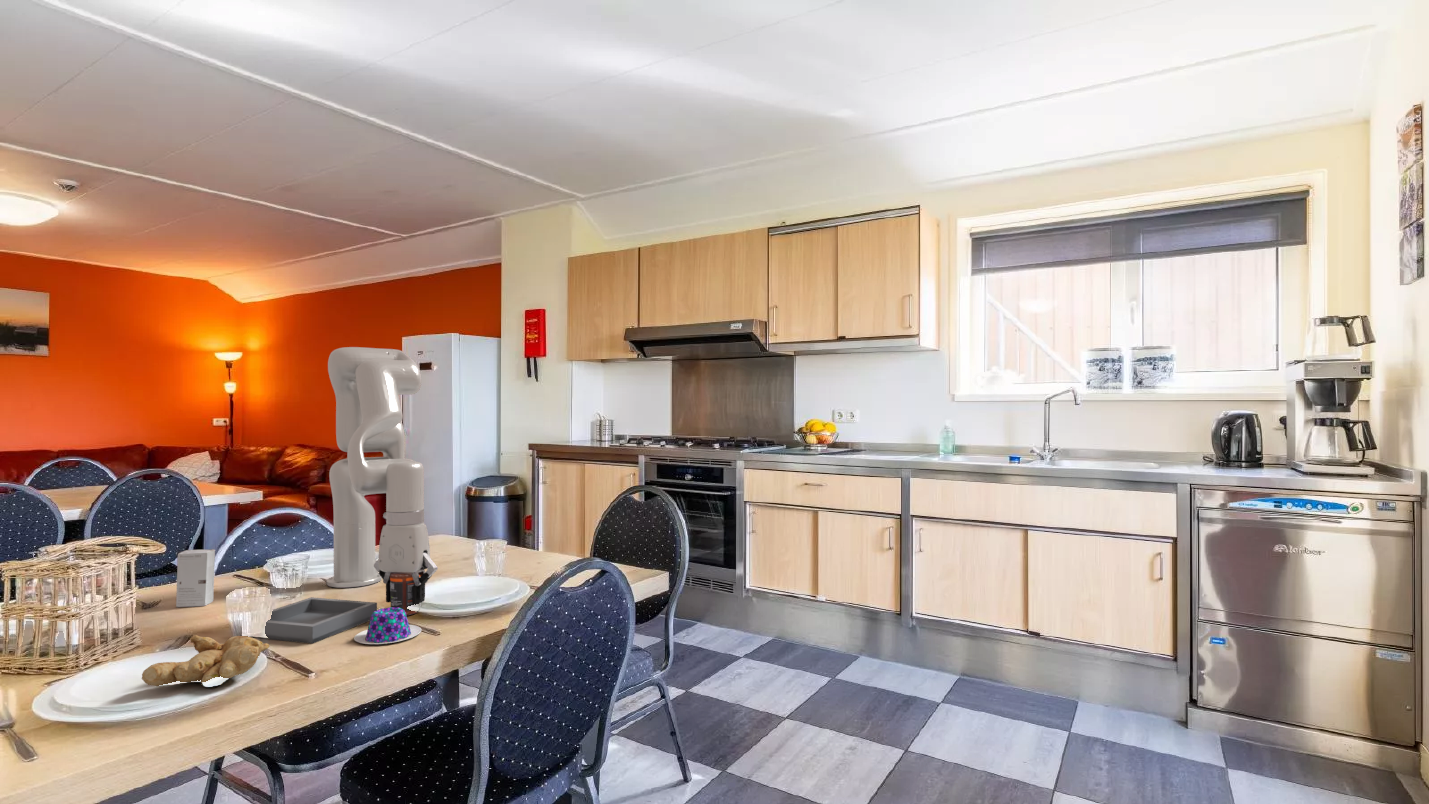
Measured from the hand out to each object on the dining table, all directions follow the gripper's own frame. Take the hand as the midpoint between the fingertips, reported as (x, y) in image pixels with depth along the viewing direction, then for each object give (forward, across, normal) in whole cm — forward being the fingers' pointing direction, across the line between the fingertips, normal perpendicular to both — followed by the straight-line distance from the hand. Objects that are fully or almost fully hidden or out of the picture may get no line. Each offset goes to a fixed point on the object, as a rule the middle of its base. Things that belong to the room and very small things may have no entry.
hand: (405, 601), depth 155 cm
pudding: (+3, +7, -14) cm, 16 cm away
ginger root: (+3, -5, -39) cm, 40 cm away
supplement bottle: (+3, 0, 0) cm, 3 cm away
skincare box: (+3, -51, -6) cm, 51 cm away
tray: (+3, -12, -13) cm, 18 cm away
